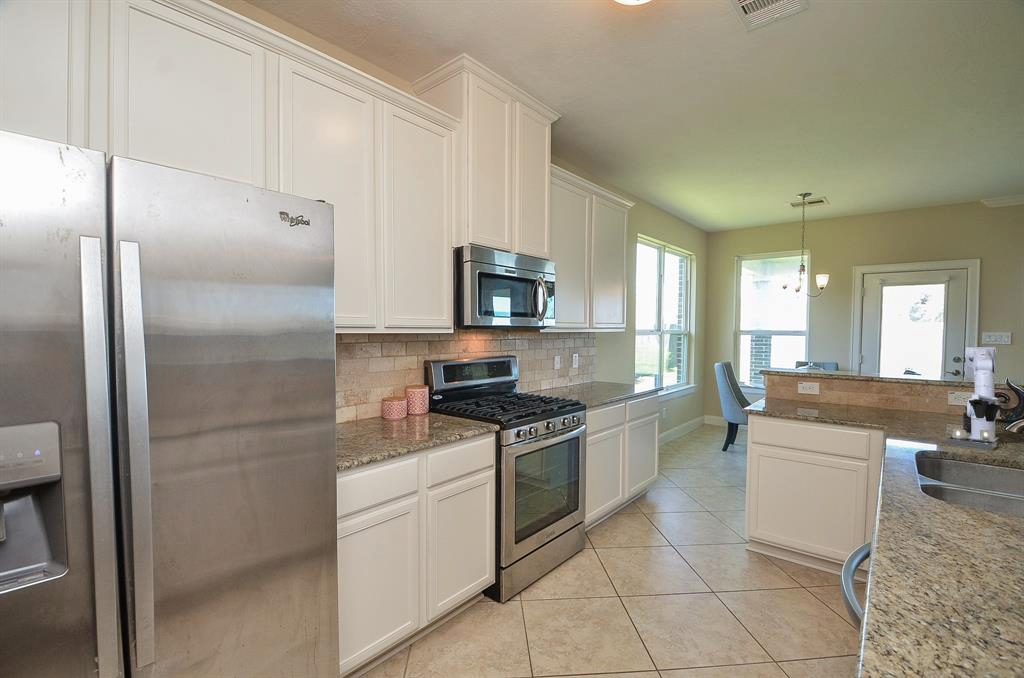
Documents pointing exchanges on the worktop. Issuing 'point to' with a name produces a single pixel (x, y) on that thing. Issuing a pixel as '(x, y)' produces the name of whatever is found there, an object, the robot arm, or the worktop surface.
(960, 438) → the billet
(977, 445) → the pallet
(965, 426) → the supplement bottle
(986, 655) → the worktop surface
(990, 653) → the worktop surface
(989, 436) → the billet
